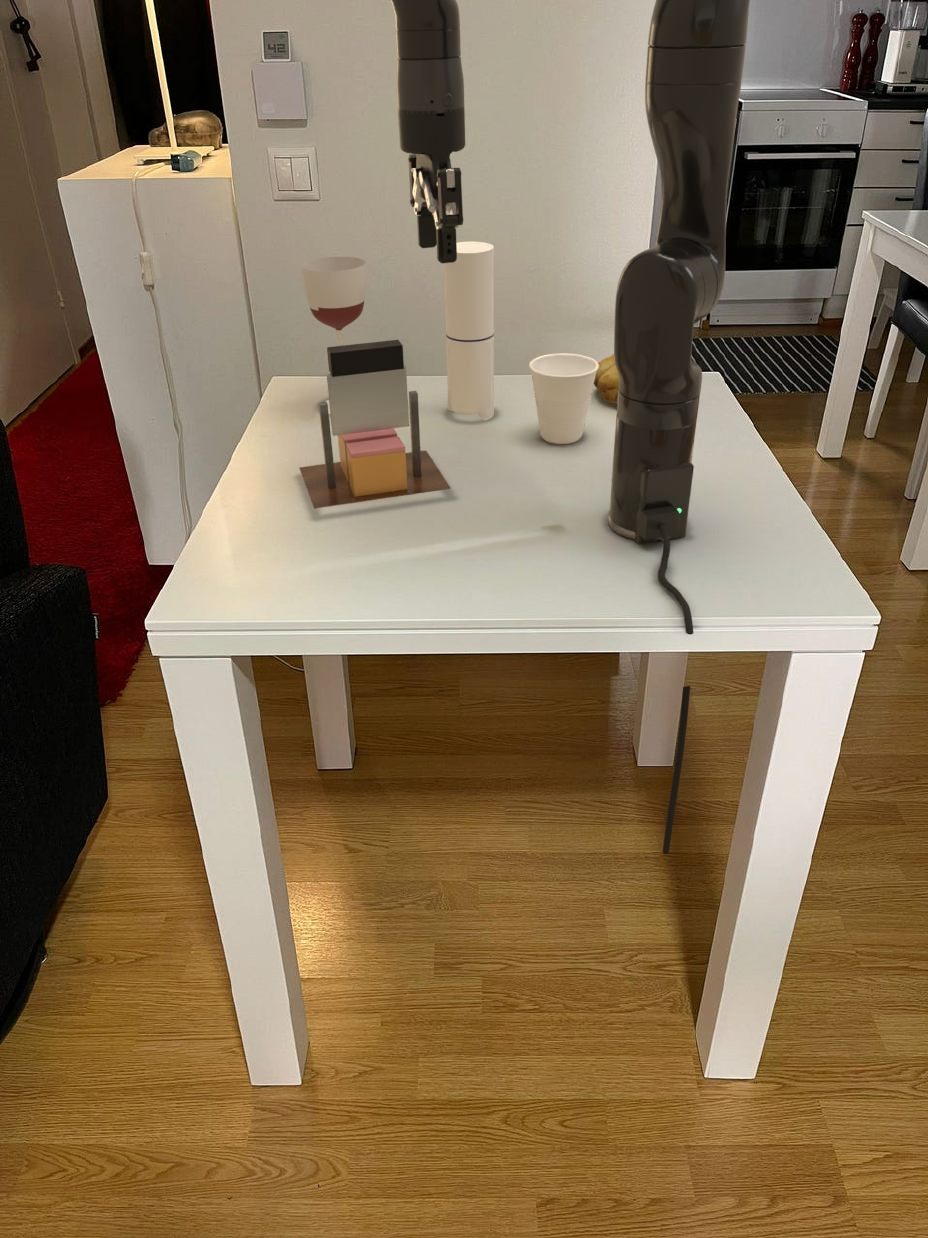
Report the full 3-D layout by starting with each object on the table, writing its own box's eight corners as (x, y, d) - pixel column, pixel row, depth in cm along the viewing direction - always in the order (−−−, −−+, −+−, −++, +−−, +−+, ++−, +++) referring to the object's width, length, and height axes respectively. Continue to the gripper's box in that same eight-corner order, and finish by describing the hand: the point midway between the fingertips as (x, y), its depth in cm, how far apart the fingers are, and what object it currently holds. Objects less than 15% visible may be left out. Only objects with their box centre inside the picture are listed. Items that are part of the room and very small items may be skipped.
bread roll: (660, 413, 150) (665, 363, 146) (597, 414, 150) (601, 364, 146) (647, 384, 161) (651, 336, 156) (588, 385, 161) (591, 338, 157)
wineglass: (310, 400, 157) (295, 260, 145) (367, 392, 160) (356, 254, 148) (323, 419, 151) (308, 274, 138) (382, 410, 153) (372, 267, 141)
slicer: (451, 498, 127) (449, 403, 120) (315, 518, 123) (304, 422, 116) (426, 459, 137) (422, 370, 130) (300, 477, 133) (289, 385, 126)
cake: (407, 489, 126) (405, 446, 123) (354, 497, 124) (350, 453, 121) (390, 459, 134) (387, 418, 131) (340, 466, 132) (336, 424, 129)
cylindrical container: (443, 420, 149) (437, 251, 136) (454, 404, 155) (450, 240, 141) (488, 424, 148) (487, 253, 134) (498, 407, 154) (498, 242, 140)
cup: (597, 450, 139) (602, 375, 133) (528, 450, 139) (530, 376, 133) (591, 423, 147) (595, 352, 141) (526, 424, 148) (527, 353, 142)
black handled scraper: (411, 429, 125) (406, 344, 119) (334, 438, 122) (326, 353, 116) (406, 422, 127) (402, 338, 121) (331, 431, 124) (322, 347, 118)
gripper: (383, 100, 113) (393, 245, 122) (415, 111, 102) (423, 270, 111) (445, 96, 115) (449, 240, 124) (482, 107, 104) (485, 264, 113)
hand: (437, 254), depth 117 cm, fingers open, 8 cm apart
